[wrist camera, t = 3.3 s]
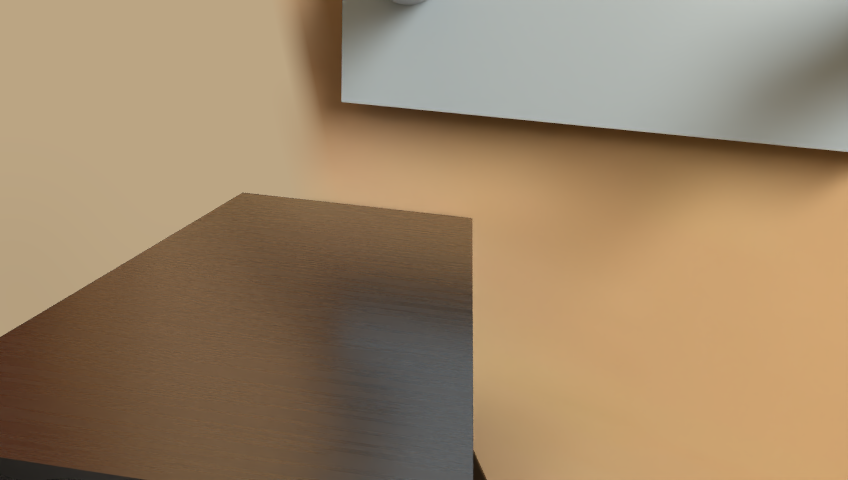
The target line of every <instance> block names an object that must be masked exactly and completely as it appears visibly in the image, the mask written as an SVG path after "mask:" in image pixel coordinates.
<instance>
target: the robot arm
mask: <svg viewBox="0 0 848 480" xmlns="http://www.w3.org/2000/svg"><path fill="white" fill-rule="evenodd" d="M473 480H487V479H486V477H485V475H484V473H483V470H482V468H481V466H480V464H479V461H478V459H477V457H476V455H475V452H474V450H473Z"/></svg>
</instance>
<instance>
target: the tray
mask: <svg viewBox="0 0 848 480" xmlns="http://www.w3.org/2000/svg"><path fill="white" fill-rule="evenodd" d="M341 102H347V103H358V104H368V105H378V106H388V107H398V108H408V109H418V110H428V111H439V112H449V113H459V114H469V115H479V116H489V117H499V118H509V119H520V120H530V121H540V122H550V123H560V124H570V125H580V126H590V127H601V128H611V129H621V130H631V131H641V132H651V133H661V134H671V135H682V136H692V137H702V138H712V139H722V140H732V141H742V142H752V143H763V144H773V145H783V146H793V147H803V148H813V149H823V150H833V151H844V152H848V0H342V88H341Z"/></svg>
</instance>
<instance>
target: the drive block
mask: <svg viewBox="0 0 848 480" xmlns="http://www.w3.org/2000/svg"><path fill="white" fill-rule="evenodd" d="M0 480H473V314H472V218H464V217H455V216H446V215H437V214H428V213H419V212H410V211H401V210H393V209H384V208H375V207H366V206H357V205H348V204H339V203H330V202H321V201H312V200H303V199H294V198H285V197H277V196H267V195H259V194H250V193H242V194H240V195H238V196H236V197H235V198H233V199H231V200H230V201H228V202H226V203H225V204H223V205H221V206H220V207H218V208H216V209H215V210H213V211H211V212H210V213H208V214H206V215H205V216H203V217H201V218H200V219H198V220H196V221H194V222H193V223H191V224H189V225H188V226H186V227H184V228H183V229H181V230H179V231H178V232H176V233H174V234H173V235H171V236H170V237H168V238H166V239H164V240H163V241H161V242H159V243H158V244H156V245H154V246H152V247H151V248H149V249H147V250H146V251H144V252H142V253H141V254H139V255H138V256H136V257H134V258H133V259H131V260H129V261H127V262H126V263H124V264H122V265H121V266H119V267H117V268H116V269H114V270H113V271H110V272H109V273H107V274H106V275H104V276H102V277H100V278H99V279H97V280H95V281H94V282H92V283H90V284H89V285H87V286H85V287H84V288H82V289H80V290H79V291H77V292H75V293H74V294H72V295H70V296H68V297H67V298H65V299H64V300H62V301H60V302H58V303H57V304H55V305H53V306H52V307H50V308H49V309H47V310H45V311H43V312H42V313H40V314H38V315H37V316H35V317H33V318H32V319H30V320H28V321H27V322H25V323H23V324H21V325H20V326H18V327H16V328H15V329H13V330H11V331H10V332H8V333H6V334H5V335H3V336H1V337H0Z"/></svg>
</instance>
